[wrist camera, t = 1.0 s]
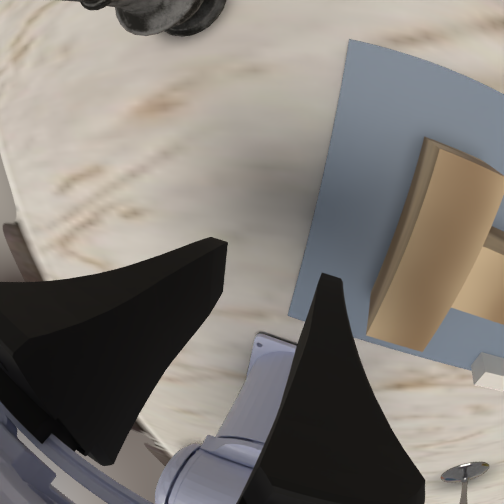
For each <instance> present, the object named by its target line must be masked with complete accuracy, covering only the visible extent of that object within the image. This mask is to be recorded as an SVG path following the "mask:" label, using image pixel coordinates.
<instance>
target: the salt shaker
mask: <svg viewBox="0 0 504 504" xmlns="http://www.w3.org/2000/svg"><path fill="white" fill-rule="evenodd" d="M63 1H78V2H81V4H82V6H83V7H84V8H86V9H88V10H99V9H101V8H104V7H106V6H111V7H115V10H116V16H117V18H118V20H119V22H120V24H121V25H122V26H123V27H124V28H125V30H126V31H128V32H130V33H133V34H135V35H143V36H148V35H153V34H158V33H160V32H162V31H165V32H167V33H169V34H171V35H175V36H190V35H193V34H196V33H199V32H201V31H203V30H204V29H206V28H207V27H209V26H210V25H211V24H212V23H213V22H214V21H215V20H216V19H217V18H218V16H219V15H220V13H221V12H222V10H223V8H224V5H225V2H226V0H63Z"/></svg>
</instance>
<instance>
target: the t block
mask: <svg viewBox="0 0 504 504" xmlns="http://www.w3.org/2000/svg"><path fill="white" fill-rule="evenodd" d="M503 195H504V175H502V174H501V173H500V172H498V171H497V170H495V169H494V168H493V167H491V166H490V165H488V164H487V163H485V162H484V161H482V160H481V159H479V158H476V157H474V156H472V155H470V154H467V153H465V152H463V151H460V150H458V149H455V148H453V147H451V146H448V145H446V144H443V143H440V142H438V141H435V140H433V139H430V138H427V137H425V136H424V140H423V144H422V148H421V151H420V155H419V159H418V162H417V166H416V169H415V173H414V176H413V179H412V182H411V186H410V189H409V192H408V195H407V198H406V201H405V204H404V207H403V210H402V213H401V216H400V219H399V222H398V225H397V227H396V230H395V233H394V236H393V238H392V241H391V244H390V246H389V249H388V252H387V254H386V257H385V259H384V262H383V264H382V267H381V269H380V272H379V274H378V277H377V279H376V281H375V284H374V286H373V288H372V291H371V295H370V305H369V314H368V323H367V331H366V336H370V337H373V338H376V339H380V340H383V341H386V342H390V343H393V344H396V345H400V346H403V347H407V348H410V349H413V350H417V351H420V352H423V351H424V349H425V348H426V346H427V345H428V343H429V342H430V340H431V339H432V337H433V336H434V334H435V332H436V331H437V329H438V328H439V326H440V325H441V323H442V321H443V320H444V318H445V316H446V315H447V313H448V311H449V310H450V308H454V309H457V310H460V311H463V312H466V313H469V314H472V315H475V316H478V317H481V318H484V319H487V320H490V321H493V322H497V323H500V324H503V325H504V231H502V230H499V229H497V228H495V227H493V226H492V224H493V221H494V219H495V216H496V214H497V211H498V209H499V206H500V204H501V201H502V198H503Z"/></svg>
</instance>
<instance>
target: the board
mask: <svg viewBox="0 0 504 504" xmlns="http://www.w3.org/2000/svg"><path fill="white" fill-rule="evenodd" d="M424 136H425V137H427V138H430V139H433V140H435V141H438V142H440V143H443V144H446V145H448V146H451V147H453V148H455V149H458V150H460V151H463V152H465V153H467V154H470V155H472V156H474V157H476V158H479V159H481V160H482V161H484V162H485V163H487V164H488V165H490V166H491V167H493V168H494V169H495V170H497V171H498V172H500V173H501V174H502V175H504V94H502V93H500V92H498V91H496V90H494V89H492V88H490V87H488V86H486V85H484V84H482V83H480V82H478V81H476V80H473V79H471V78H469V77H467V76H464V75H462V74H460V73H457V72H455V71H452V70H450V69H447V68H445V67H442V66H440V65H437V64H434V63H432V62H429V61H426V60H423V59H420V58H417V57H414V56H411V55H408V54H405V53H401V52H398V51H395V50H391V49H388V48H384V47H380V46H377V45H373V44H369V43H364V42H360V41H356V40H351V39H349V45H348V51H347V57H346V63H345V68H344V74H343V80H342V85H341V91H340V96H339V101H338V106H337V112H336V117H335V122H334V127H333V132H332V136H331V141H330V146H329V151H328V155H327V160H326V165H325V169H324V174H323V178H322V183H321V187H320V191H319V196H318V200H317V204H316V208H315V213H314V217H313V221H312V225H311V229H310V233H309V237H308V241H307V245H306V249H305V253H304V257H303V261H302V264H301V268H300V272H299V276H298V280H297V283H296V287H295V291H294V294H293V298H292V302H291V305H290V309H289V312H288V316H290V317H293V318H296V319H299V320H302V321H306V318H307V315H308V312H309V309H310V306H311V303H312V300H313V297H314V294H315V290H316V287H317V284H318V281H319V279H320V276H321V273H326V274H329V275H332V276H335V277H338V278H341V279H342V281H343V289H344V298H345V304H346V309H347V314H348V318H349V322H350V327H351V331H352V334H353V337H354V338H358V339H361V340H364V341H367V342H371V343H374V344H377V345H381V346H384V347H387V348H391V349H394V350H398V351H401V352H405V353H408V354H412V355H415V356H419V357H422V358H426V359H429V360H433V361H437V362H441V363H444V364H448V365H452V366H456V367H459V368H463V369H467V370H471V371H472V369H471V365H472V363H473V362H474V361H475V360H476V358H477V357H478V356H479V355H480V353H481V352H483V353H487V354H490V355H494V356H497V357H501V358H504V325H503V324H500V323H497V322H493V321H490V320H487V319H484V318H481V317H478V316H475V315H472V314H469V313H466V312H463V311H460V310H457V309H454V308H450V310H449V311H448V313H447V315H446V316H445V318H444V320H443V321H442V323H441V325H440V326H439V328H438V329H437V331H436V332H435V334H434V336H433V337H432V339H431V340H430V342H429V343H428V345H427V346H426V348H425V349H424V351H423V352H420V351H417V350H413V349H410V348H407V347H403V346H400V345H396V344H393V343H390V342H386V341H383V340H380V339H376V338H373V337H370V336H366V331H367V323H368V314H369V305H370V295H371V291H372V288H373V286H374V284H375V281H376V279H377V277H378V274H379V272H380V269H381V267H382V264H383V262H384V259H385V257H386V254H387V252H388V249H389V246H390V244H391V241H392V238H393V236H394V233H395V230H396V227H397V225H398V222H399V219H400V216H401V213H402V210H403V207H404V204H405V201H406V198H407V195H408V192H409V189H410V186H411V182H412V179H413V176H414V173H415V169H416V166H417V162H418V159H419V155H420V151H421V148H422V144H423V140H424ZM492 226H493V227H495V228H497V229H499V230H502V231H504V195H503V198H502V201H501V204H500V206H499V209H498V211H497V214H496V216H495V219H494V221H493V224H492Z"/></svg>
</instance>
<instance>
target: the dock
mask: <svg viewBox="0 0 504 504" xmlns="http://www.w3.org/2000/svg"><path fill="white" fill-rule="evenodd" d="M471 369H472V375H473V381H474V385H476V386H480V387H485V388H489V389H494V390H499V391H504V358H501V357H497V356H494V355H490V354H487V353H483V352H481V353H480V355H479V356H478V357H477V358H476V360H475V361H474V362H473V363H472V365H471Z"/></svg>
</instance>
